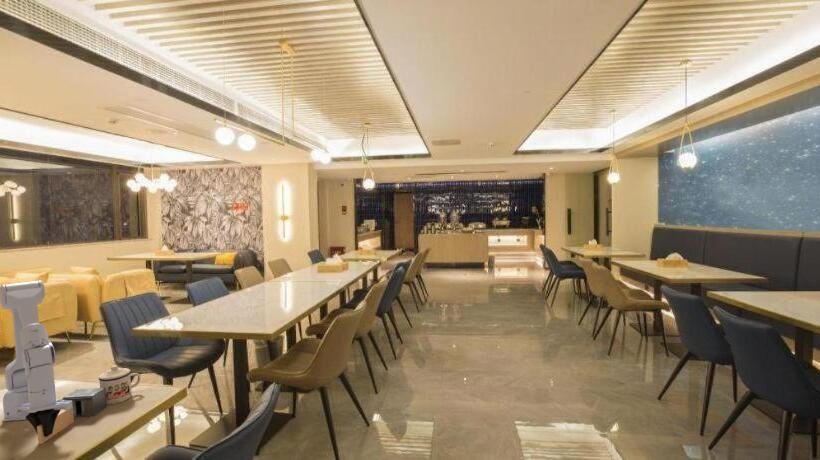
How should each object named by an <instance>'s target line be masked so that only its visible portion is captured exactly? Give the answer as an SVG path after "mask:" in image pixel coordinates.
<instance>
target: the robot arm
mask: <svg viewBox="0 0 820 460" xmlns="http://www.w3.org/2000/svg"><path fill="white" fill-rule="evenodd" d="M45 291H46V289H45V284H44V282H43V281H42V280H41V279H38V280H33V281H27V282H24V281H23V282H18V283H17V282H16V283H9V284H0V306H1V308H2V309H4V310H10V312H11V314H12V321H13V322H12V323H13V334H14V346H15V357H16V358H15V359H14V360H13V361H11V362H10V363H8V364H7V365H6V366H5V369H4V371H5V375H4V380H5V381H4V383H5V387H6V392H5V393H4V395H3V396H2V397H3V398H2V406H3V416H4V418H2V419H1V421H2V422H8V421H9V422H10V421H23V420H24V421H28V422H29V424H31V425H32V427H33V428H34V430H35V432H36V434H37V435H38V432H37V426H39V425H40V424H42V426H43V434H44V436H45V437H47V436H49V435H50V434H52V433H53V428H54V424H55V421H56V418H57V416H58V414H59V412H61V411H63V410H69V409H70V408H72V407H73V406H72V401H66V400H61V399H58V398H57V397H56V385H55V384H56V383H55V372H54V371H55V369H54V364H55V363H56V351H55V348H54V345H53V343H52V341H51V340H50V339H49V336H48V332H47V327H46V326H45V324H42V323H40V319H39V317H40V316H39V307H38V305H40V304H41V303H42V302H43V300H44V298H45V296H46V295H45V294H46V292H45Z"/></svg>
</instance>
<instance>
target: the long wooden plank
mask: <svg viewBox="0 0 820 460" xmlns="http://www.w3.org/2000/svg"><path fill="white" fill-rule="evenodd" d="M74 422H75V417H74V415H73V407H72V408H70V409H69V410H64V409H62V410H60V412H59V414H58V416H57V418H56V421H55V424H54V428H53V433H52V434H50V435H49V436H47V437H45V436H44V434H43V426H42V424H40V425H39V426H37V432H38V434H37V441H38V445H43V444H44V443H45V442H47V441H48V440H50V439H51V438H53V437H54V436H56V435H57V434H58V432H59V433H60V432H61V431H63V430H64V429H66V428H68V427H69V426H70V425H72V424H73V423H74ZM37 432H36V433H37Z"/></svg>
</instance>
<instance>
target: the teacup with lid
mask: <svg viewBox="0 0 820 460" xmlns="http://www.w3.org/2000/svg"><path fill="white" fill-rule="evenodd" d="M133 376H137V380H136V382H135V383H134V384H132V383H131V381H132V379H131V377H133ZM98 380H99V388H105V390H106V403H107V405H108V406H109V405H114V404H119V403H121V402H125V401H127V400H128V399H130V398H131V397H132V389H133V388H136V387H137V386H138V385H139V384H140V382H141V375H140V373H137V372H132V371H131V369H129V368H126V367H125V368H124V367H119V365H116V364H114V365H112V366H111V367H110V369H108V370H107V371H105V372H103V373H101V374H100V375H99V376H98Z"/></svg>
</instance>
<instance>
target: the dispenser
mask: <svg viewBox="0 0 820 460" xmlns="http://www.w3.org/2000/svg"><path fill="white" fill-rule="evenodd" d="M60 400H66V401H72V406H73V415H74V418H78V417H79V416H82V418H86V417H88V418H89V417H95V416H97V415H98V414H99V413H101V412H102V411H104V410H106V409H107V407H108V406H107V403H106V390H105V388H100V387H95V388H78V389H77V388H76V389H75V390H73V391H71V392H70V393H68V394H66V395H65V396H63V397H62V399H60Z"/></svg>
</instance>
